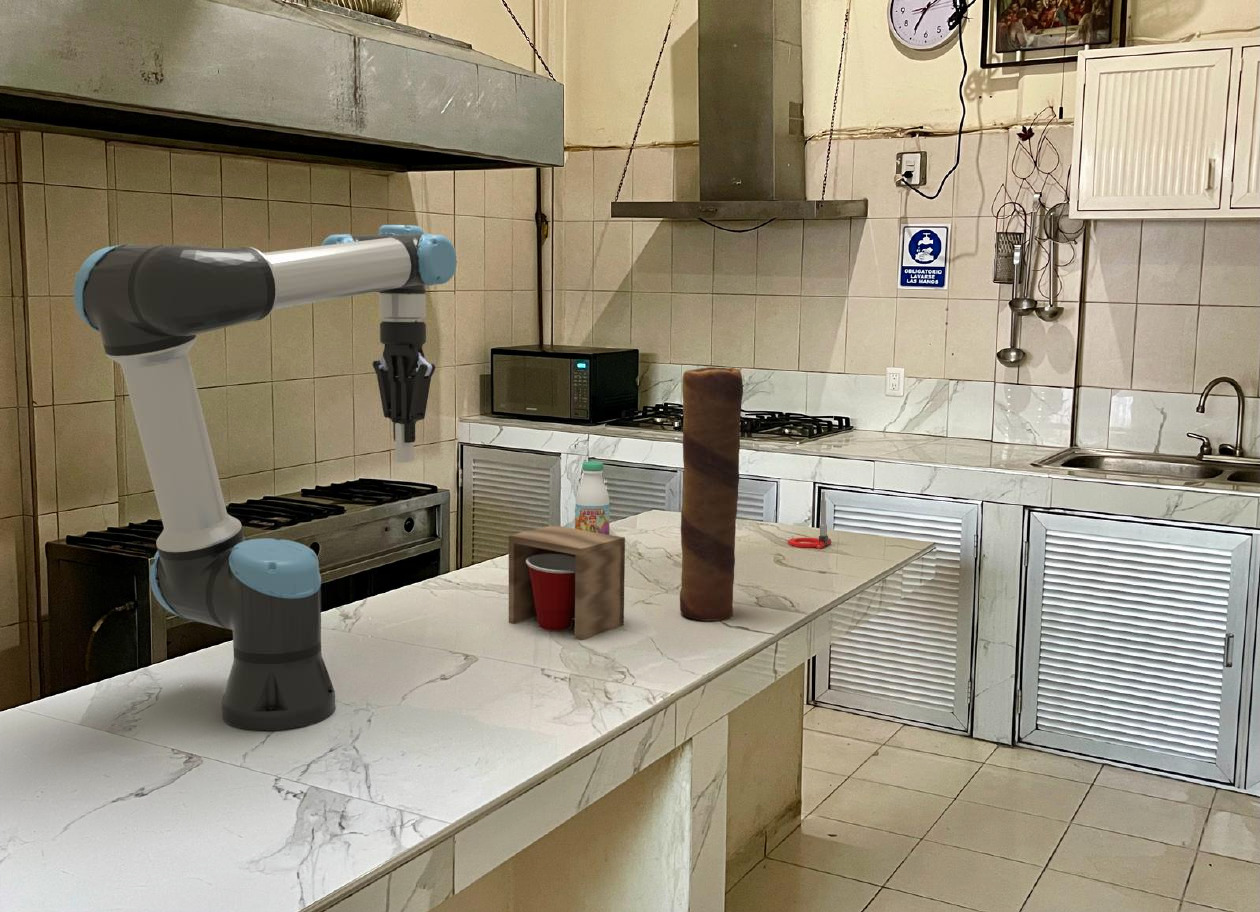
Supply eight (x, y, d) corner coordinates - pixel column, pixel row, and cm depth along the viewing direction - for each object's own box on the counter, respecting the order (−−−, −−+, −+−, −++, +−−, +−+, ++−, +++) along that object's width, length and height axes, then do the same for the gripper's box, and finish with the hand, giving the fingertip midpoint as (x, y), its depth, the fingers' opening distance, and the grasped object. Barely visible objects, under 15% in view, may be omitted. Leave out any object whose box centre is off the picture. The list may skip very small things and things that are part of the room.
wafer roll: (729, 625, 213) (736, 370, 207) (671, 619, 217) (676, 368, 210) (743, 611, 223) (750, 367, 217) (688, 605, 226) (693, 365, 220)
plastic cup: (560, 639, 203) (561, 570, 202) (512, 628, 210) (512, 560, 208) (599, 625, 212) (600, 559, 210) (552, 615, 218) (553, 550, 217)
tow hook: (782, 547, 280) (820, 550, 276) (782, 492, 279) (820, 494, 274) (795, 541, 287) (833, 544, 283) (795, 487, 286) (832, 489, 281)
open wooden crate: (580, 640, 203) (581, 548, 201) (508, 622, 213) (508, 535, 211) (623, 624, 213) (625, 537, 210) (553, 608, 223) (553, 525, 220)
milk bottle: (571, 547, 274) (571, 460, 272) (603, 545, 277) (604, 459, 274) (579, 554, 267) (580, 465, 264) (613, 553, 269) (614, 464, 267)
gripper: (447, 321, 199) (448, 462, 202) (393, 318, 206) (395, 455, 210) (413, 321, 193) (414, 467, 196) (359, 319, 201) (361, 459, 204)
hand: (404, 461), depth 203 cm, fingers closed
